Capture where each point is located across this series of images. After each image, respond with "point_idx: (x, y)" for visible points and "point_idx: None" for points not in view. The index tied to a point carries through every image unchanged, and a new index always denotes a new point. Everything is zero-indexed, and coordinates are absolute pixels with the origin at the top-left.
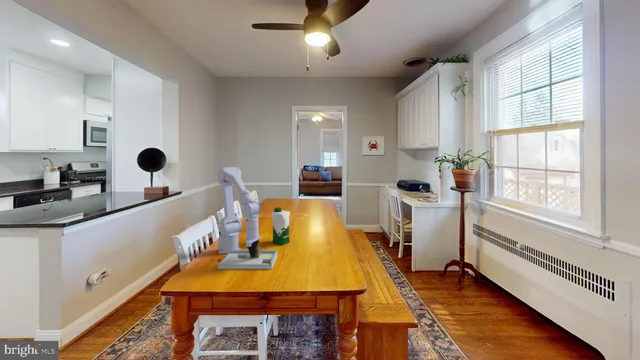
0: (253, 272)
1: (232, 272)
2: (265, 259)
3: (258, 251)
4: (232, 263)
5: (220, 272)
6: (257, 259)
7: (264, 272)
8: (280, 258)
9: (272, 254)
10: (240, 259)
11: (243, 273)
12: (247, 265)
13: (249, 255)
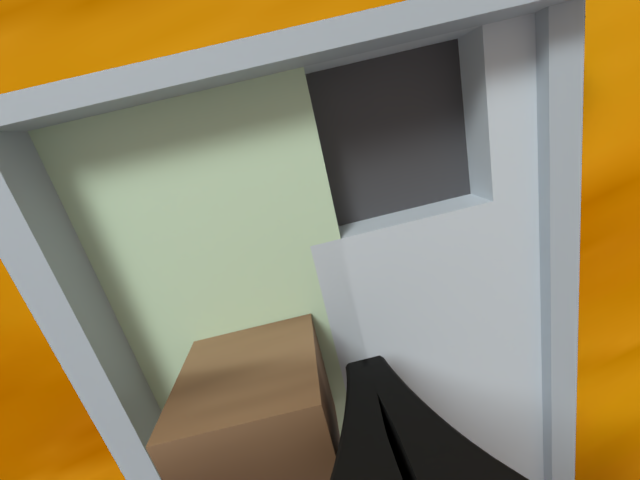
0: (616, 200)
1: (608, 386)
2: (330, 197)
3: (309, 377)
4: None
5: (604, 464)
6: (365, 300)
7: (622, 66)
8: (105, 19)
9: (102, 172)
10: None
11: (634, 286)
12: (568, 320)
13: None
